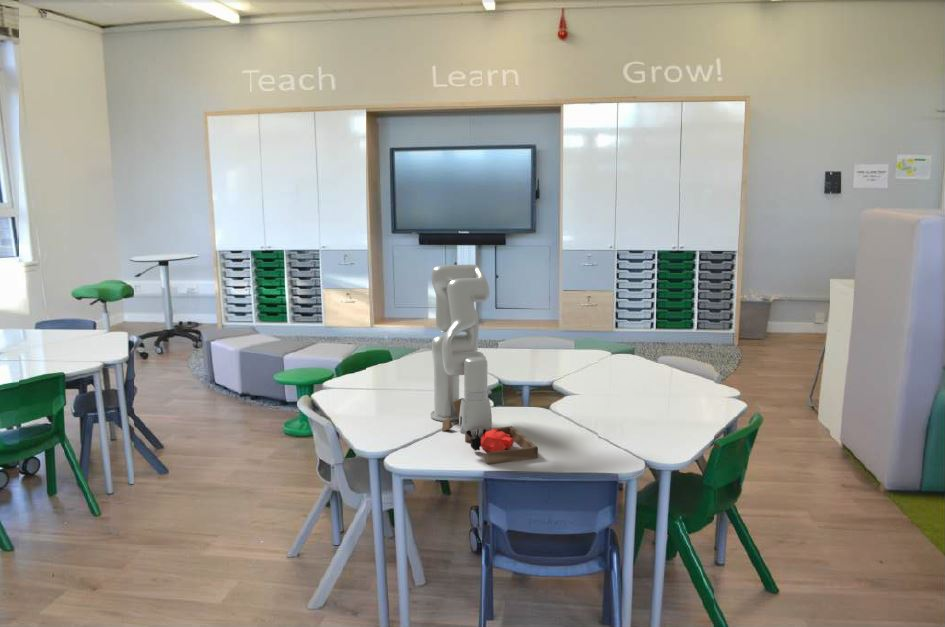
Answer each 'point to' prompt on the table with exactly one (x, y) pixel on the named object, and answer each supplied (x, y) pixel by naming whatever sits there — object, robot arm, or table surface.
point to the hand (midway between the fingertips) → (475, 449)
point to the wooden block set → (447, 422)
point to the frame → (514, 454)
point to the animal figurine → (496, 441)
